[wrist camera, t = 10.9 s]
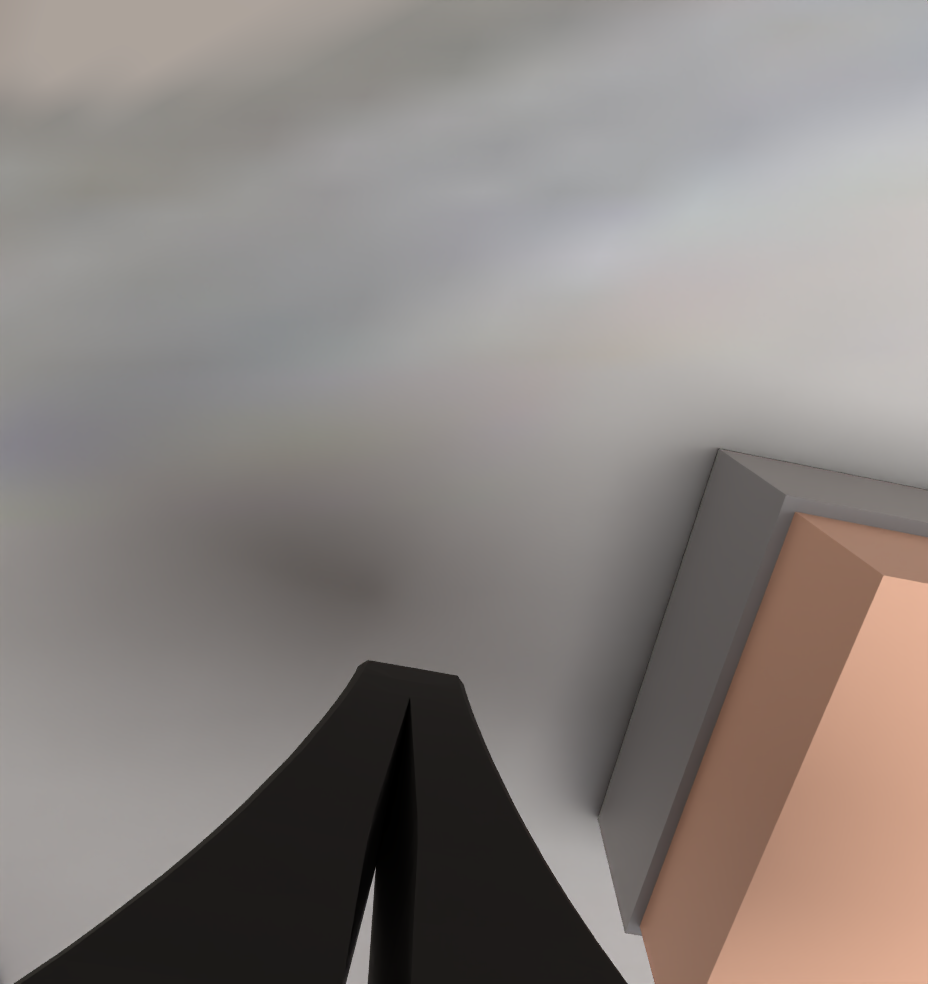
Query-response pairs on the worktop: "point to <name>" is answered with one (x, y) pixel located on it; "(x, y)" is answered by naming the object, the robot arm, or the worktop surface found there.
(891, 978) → the cover
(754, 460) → the housing
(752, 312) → the worktop surface
